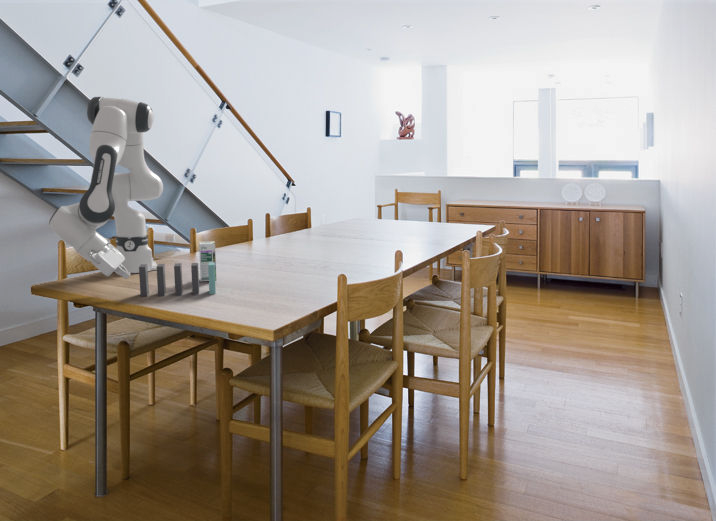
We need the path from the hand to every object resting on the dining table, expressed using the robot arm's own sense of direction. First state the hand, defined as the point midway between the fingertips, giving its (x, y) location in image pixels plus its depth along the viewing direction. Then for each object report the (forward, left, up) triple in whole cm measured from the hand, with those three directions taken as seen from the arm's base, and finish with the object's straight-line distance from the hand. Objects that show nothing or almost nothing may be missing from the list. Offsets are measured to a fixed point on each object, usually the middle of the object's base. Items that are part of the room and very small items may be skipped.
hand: (128, 276), depth 190 cm
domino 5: (0, +27, -6) cm, 27 cm away
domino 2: (0, +10, -6) cm, 12 cm away
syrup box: (-20, +25, -7) cm, 32 cm away
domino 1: (0, +5, -6) cm, 8 cm away
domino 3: (0, +16, -6) cm, 17 cm away
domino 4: (0, +21, -6) cm, 22 cm away
